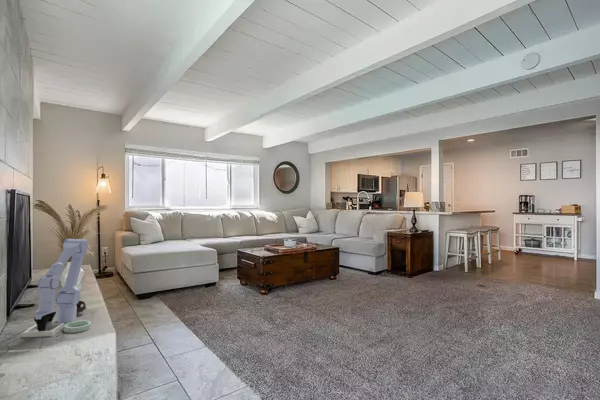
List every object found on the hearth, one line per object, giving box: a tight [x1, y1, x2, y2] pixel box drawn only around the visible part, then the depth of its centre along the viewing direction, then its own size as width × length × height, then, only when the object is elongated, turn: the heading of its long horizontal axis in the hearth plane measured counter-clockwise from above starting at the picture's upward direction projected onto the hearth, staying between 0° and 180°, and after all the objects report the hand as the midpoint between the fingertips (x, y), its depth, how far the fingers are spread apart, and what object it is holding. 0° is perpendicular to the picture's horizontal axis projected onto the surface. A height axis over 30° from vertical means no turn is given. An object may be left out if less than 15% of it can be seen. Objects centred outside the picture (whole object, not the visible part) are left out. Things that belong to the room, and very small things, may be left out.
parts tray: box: [21, 322, 65, 338], centre depth 153 cm, size 12×12×3 cm
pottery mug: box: [76, 300, 87, 315], centre depth 183 cm, size 12×9×8 cm
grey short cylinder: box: [45, 321, 52, 331], centre depth 153 cm, size 5×5×4 cm
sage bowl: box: [63, 319, 92, 334], centre depth 159 cm, size 11×11×3 cm
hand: (44, 329), depth 153 cm, fingers closed on grey short cylinder, 5 cm apart
